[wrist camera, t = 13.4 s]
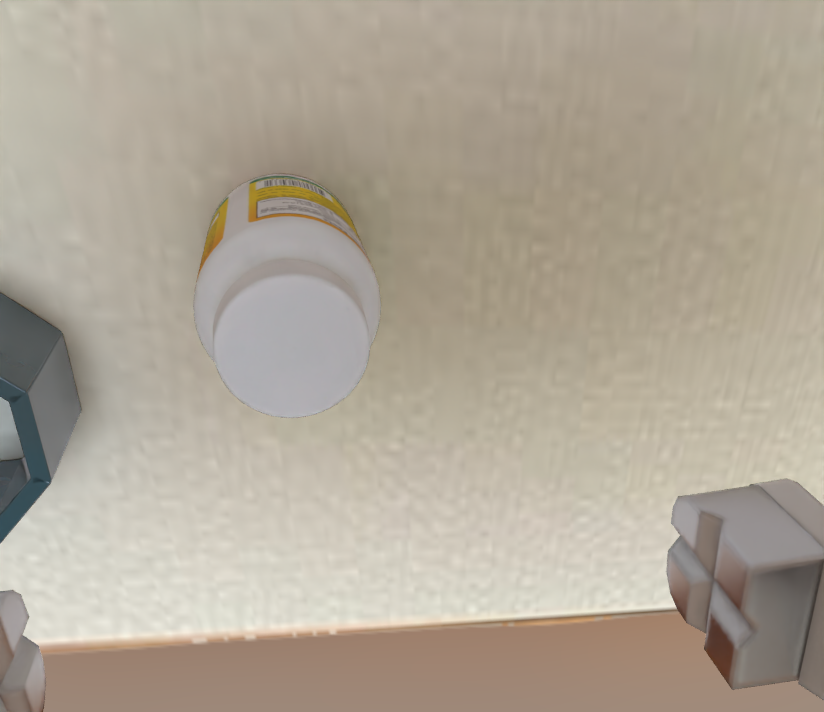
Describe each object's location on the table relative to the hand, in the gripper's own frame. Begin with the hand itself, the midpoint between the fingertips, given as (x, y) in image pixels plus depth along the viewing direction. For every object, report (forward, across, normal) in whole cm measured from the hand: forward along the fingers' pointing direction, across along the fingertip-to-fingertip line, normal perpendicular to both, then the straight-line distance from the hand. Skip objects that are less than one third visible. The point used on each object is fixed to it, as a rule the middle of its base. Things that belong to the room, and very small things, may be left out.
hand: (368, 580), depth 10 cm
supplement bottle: (+20, +1, +1) cm, 20 cm away
